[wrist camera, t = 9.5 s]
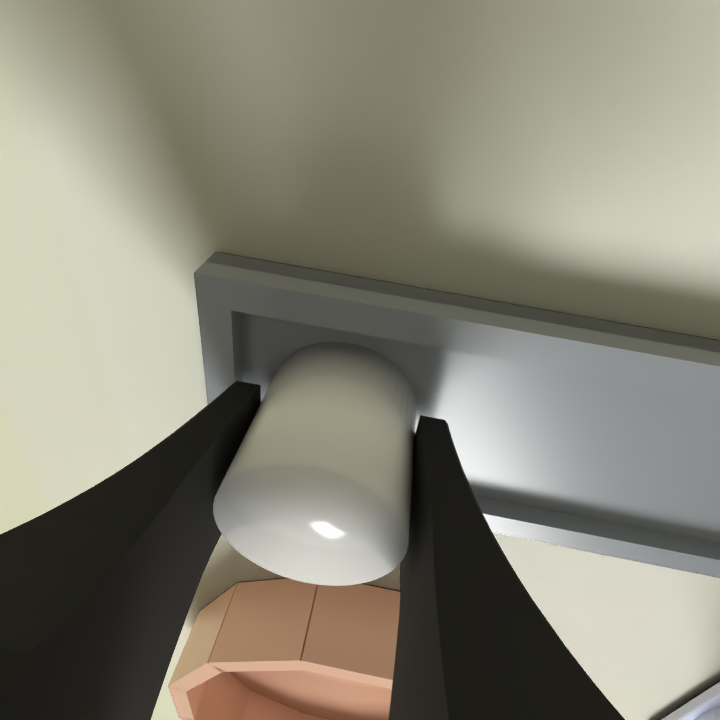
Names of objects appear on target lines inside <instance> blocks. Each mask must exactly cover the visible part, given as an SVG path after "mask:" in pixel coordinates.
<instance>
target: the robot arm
mask: <svg viewBox="0 0 720 720" xmlns="http://www.w3.org/2000/svg"><path fill="white" fill-rule="evenodd" d="M260 404H261V385H258V384H252V383H247V382H242V381H236V382H234V383H233V384H232V385H231V386H229V387H228V388H227V389H226V390H225V391H224V392H222V393H221V394H220V395H219V396H218V397H217V398H215V399H214V400H213V401H212V402H211V403H210V404H208V405H207V406H206V407H205V408H204V409H202V410H201V411H200V412H199V413H198V414H196V415H195V416H194V417H193V418H191V419H190V420H189V421H188V422H186V423H185V424H184V425H183V426H181V427H180V428H179V429H177V430H176V431H175V432H174V433H172V434H171V435H170V436H168V437H167V438H166V439H164V440H163V441H162V442H160V443H159V444H157V445H156V446H155V447H153V448H152V449H150V450H149V451H148V452H146V453H145V454H144V455H142V456H141V457H139V458H138V459H136V460H135V461H133V462H132V463H130V464H129V465H127V466H126V467H124V468H123V469H121V470H120V471H118V472H117V473H115V474H113V475H112V476H110V477H109V478H107V479H105V480H104V481H102V482H100V483H99V484H97V485H95V486H94V487H92V488H90V489H88V490H87V491H85V492H83V493H81V494H80V495H78V496H76V497H74V498H72V499H71V500H69V501H67V502H65V503H63V504H61V505H59V506H58V507H56V508H54V509H52V510H50V511H48V512H46V513H44V514H42V515H40V516H38V517H36V518H34V519H32V520H30V521H28V522H26V523H24V524H22V525H20V526H18V527H16V528H13V529H11V530H9V531H7V532H5V533H3V534H0V720H151V717H152V714H153V710H154V707H155V704H156V701H157V699H158V696H159V693H160V690H161V687H162V684H163V681H164V678H165V675H166V672H167V669H168V667H169V664H170V661H171V658H172V655H173V652H174V649H175V647H176V644H177V641H178V638H179V636H180V633H181V630H182V627H183V625H184V622H185V619H186V616H187V614H188V611H189V608H190V606H191V603H192V600H193V598H194V595H195V593H196V590H197V587H198V585H199V582H200V579H201V577H202V574H203V572H204V570H205V567H206V565H207V563H208V561H209V558H210V556H211V554H212V552H213V550H214V548H215V546H216V544H217V542H218V540H219V538H220V536H221V534H222V533H221V532H220V530H219V528H218V526H217V524H216V521H215V518H214V513H213V503H214V499H215V496H216V494H217V492H218V490H219V488H220V485H221V483H222V481H223V479H224V477H225V475H226V473H227V471H228V469H229V467H230V465H231V463H232V461H233V459H234V457H235V455H236V453H237V451H238V449H239V447H240V445H241V443H242V441H243V439H244V436H245V434H246V432H247V430H248V428H249V426H250V424H251V422H252V420H253V418H254V416H255V414H256V412H257V410H258V408H259V406H260ZM389 720H625V719H624V718H623V717H622V716H621V715H620V713H619V712H618V711H617V710H616V709H615V708H614V706H613V705H612V704H611V703H610V702H609V701H608V699H607V698H606V697H605V696H604V695H603V693H602V692H601V691H600V690H599V688H598V687H597V686H596V685H595V684H594V682H593V681H592V680H591V679H590V677H589V676H588V675H587V673H586V672H585V671H584V670H583V668H582V667H581V666H580V664H579V663H578V662H577V661H576V659H575V658H574V657H573V655H572V654H571V653H570V651H569V650H568V649H567V648H566V646H565V645H564V644H563V642H562V641H561V639H560V638H559V636H558V635H557V634H556V632H555V631H554V629H553V628H552V627H551V625H550V624H549V622H548V621H547V620H546V618H545V617H544V615H543V614H542V612H541V611H540V610H539V608H538V607H537V605H536V604H535V603H534V601H533V600H532V598H531V597H530V595H529V594H528V592H527V590H526V589H525V587H524V586H523V584H522V583H521V581H520V579H519V578H518V576H517V575H516V573H515V571H514V570H513V568H512V566H511V565H510V563H509V561H508V560H507V558H506V556H505V555H504V553H503V551H502V549H501V547H500V546H499V544H498V542H497V540H496V538H495V537H494V535H493V533H492V531H491V529H490V527H489V525H488V523H487V521H486V519H485V517H484V515H483V513H482V511H481V509H480V507H479V505H478V502H477V500H476V498H475V496H474V494H473V491H472V489H471V487H470V484H469V482H468V480H467V477H466V475H465V473H464V470H463V468H462V465H461V462H460V460H459V457H458V454H457V452H456V449H455V446H454V443H453V440H452V436H451V433H450V430H449V426H448V423H447V422H446V421H445V420H443V419H438V418H433V417H427V416H422V415H420V418H419V422H418V425H417V429H416V433H415V443H414V459H413V478H412V494H411V509H410V525H409V541H408V548H407V552H406V554H405V557H404V559H403V560H402V561H401V563H400V609H399V623H398V633H397V643H396V654H395V664H394V673H393V683H392V692H391V702H390V711H389ZM661 720H720V682H719V683H717V684H716V685H714V686H712V687H711V688H709V689H708V690H706V691H705V692H703V693H702V694H700V695H699V696H697V697H695V698H694V699H692V700H691V701H689V702H688V703H686V704H685V705H683V706H682V707H680V708H678V709H677V710H675V711H674V712H672V713H671V714H669V715H668V716H666V717H665V718H663V719H661Z"/></svg>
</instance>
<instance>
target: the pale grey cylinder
mask: <svg viewBox="0 0 720 720" xmlns="http://www.w3.org/2000/svg"><path fill="white" fill-rule="evenodd" d="M416 414H417V401H416V395H415V392H414V389H413V386H412V385H411V383H410V381H409V379H408V378H407V376H406V375H405V374H404V372H403V371H402V370H401V369H400V368H399V367H398V366H397V365H396V364H395V363H394V362H392V361H391V360H390V359H388V358H387V357H385V356H384V355H382V354H380V353H378V352H376V351H374V350H372V349H370V348H367V347H364V346H361V345H357V344H353V343H347V342H321V343H316V344H312V345H309V346H306V347H303V348H301V349H299V350H297V351H295V352H294V353H292V354H291V355H290V356H288V357H287V358H286V359H285V360H284V361H283V362H282V363H281V365H280V366H279V368H278V369H277V371H276V373H275V375H274V377H273V379H272V381H271V383H270V385H269V387H268V390H267V392H266V394H265V396H264V398H263V400H262V402H261V404H260V406H259V408H258V410H257V412H256V414H255V416H254V418H253V420H252V422H251V424H250V426H249V428H248V430H247V432H246V434H245V436H244V439H243V441H242V443H241V445H240V447H239V449H238V451H237V453H236V455H235V457H234V459H233V461H232V463H231V465H230V467H229V469H228V471H227V473H226V475H225V477H224V479H223V481H222V483H221V485H220V488H219V490H218V492H217V494H216V496H215V499H214V503H213V513H214V518H215V521H216V524H217V526H218V528H219V530H220V532H221V533H222V535H223V536H224V538H225V539H226V540H227V541H228V543H229V544H230V545H231V546H232V547H233V548H234V549H235V550H237V551H238V552H239V553H240V554H242V555H243V556H244V557H246V558H247V559H249V560H250V561H252V562H253V563H255V564H257V565H258V566H260V567H262V568H264V569H266V570H268V571H270V572H273V573H275V574H278V575H280V576H283V577H286V578H290V579H293V580H297V581H301V582H305V583H311V584H318V585H329V586H344V585H355V584H361V583H366V582H370V581H373V580H376V579H378V578H380V577H383V576H385V575H387V574H388V573H390V572H391V571H393V570H394V569H395V568H396V567H397V566H398V565H399V564H400V563H401V561H402V560H403V559H404V557H405V554H406V552H407V548H408V541H409V525H410V509H411V494H412V478H413V459H414V443H415V430H416Z"/></svg>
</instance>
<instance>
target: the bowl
mask: <svg viewBox="0 0 720 720" xmlns="http://www.w3.org/2000/svg"><path fill="white" fill-rule="evenodd" d="M399 609H400V592H398V591H394V590H389V589H384V588H379V587H374V586H369V585H364V584H355V585H344V586H329V585H318V584H311V583H305V582H301V581H297V580H293V579H290V578H285V579H274V580H264V581H254V582H243V583H238V584H235V585H234V586H233V587H231V588H230V589H229V590H227V591H226V592H225V593H223V594H222V595H221V596H219V597H218V598H217V599H215V600H214V601H213V602H211V603H210V604H209V605H207V606H206V607H205V608H203V609H202V610H201V611H199V614H198V616H197V618H196V621H195V623H194V626H193V628H192V630H191V633H190V635H189V637H188V640H187V642H186V645H185V647H184V649H183V652H182V654H181V657H180V659H179V661H178V664H177V666H176V668H175V671H174V673H173V676H172V678H171V680H170V683H169V685H168V688H169V691H170V693H171V696H172V699H173V702H174V705H175V708H176V711H177V714H178V717H179V718H180V719H181V720H389V711H390V702H391V692H392V683H393V673H394V664H395V654H396V643H397V633H398V623H399Z"/></svg>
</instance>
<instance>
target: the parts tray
mask: <svg viewBox="0 0 720 720" xmlns="http://www.w3.org/2000/svg"><path fill="white" fill-rule="evenodd" d="M194 278H195V287H196V297H197V306H198V316H199V325H200V335H201V344H202V354H203V364H204V373H205V383H206V392H207V402H208V404H210V403H211V402H212V401H213V400H214V399H215V398H217V397H218V396H219V395H220V394H221V393H222V392H224V391H225V390H226V389H227V388H228V387H229V386H231V385H232V384H233V383H234V382H236V381H242V382H247V383H252V384H258V385H261V402H262V400H263V398H264V396H265V394H266V392H267V390H268V387H269V385H270V383H271V381H272V379H273V377H274V375H275V373H276V371H277V369H278V368H279V366H280V365H281V363H282V362H283V361H284V360H285V359H286V358H287V357H288V356H290V355H291V354H292V353H294V352H295V351H297V350H299V349H301V348H303V347H306V346H309V345H312V344H316V343H321V342H347V343H353V344H357V345H361V346H364V347H367V348H370V349H372V350H374V351H376V352H378V353H380V354H382V355H384V356H385V357H387V358H388V359H390V360H391V361H392V362H394V363H395V364H396V365H397V366H398V367H399V368H400V369H401V370H402V371H403V372H404V374H405V375H406V376H407V378H408V379H409V381H410V383H411V385H412V386H413V389H414V392H415V395H416V401H417V414H416V429H417V425H418V422H419V418H420V415H422V416H427V417H433V418H438V419H443V420H445V421H446V422H447V423H448V426H449V430H450V433H451V436H452V440H453V443H454V446H455V449H456V452H457V454H458V457H459V460H460V462H461V465H462V468H463V470H464V473H465V475H466V477H467V480H468V482H469V484H470V487H471V489H472V491H473V494H474V496H475V498H476V500H477V502H478V505H479V507H480V509H481V511H482V513H483V515H484V517H485V519H486V521H487V523H488V525H489V527H490V529H491V531H492V533H496V534H501V535H506V536H511V537H516V538H521V539H526V540H531V541H536V542H541V543H546V544H551V545H556V546H562V547H567V548H572V549H577V550H582V551H587V552H592V553H597V554H602V555H607V556H612V557H617V558H622V559H627V560H632V561H637V562H642V563H647V564H652V565H657V566H662V567H667V568H672V569H677V570H682V571H687V572H692V573H697V574H702V575H707V576H712V577H717V578H720V341H719V340H713V339H708V338H702V337H696V336H690V335H685V334H679V333H673V332H668V331H662V330H656V329H651V328H645V327H639V326H634V325H628V324H622V323H617V322H611V321H605V320H599V319H594V318H588V317H582V316H577V315H571V314H565V313H560V312H554V311H548V310H543V309H537V308H531V307H526V306H520V305H514V304H508V303H503V302H497V301H491V300H486V299H480V298H474V297H469V296H463V295H457V294H452V293H446V292H440V291H435V290H429V289H423V288H417V287H412V286H406V285H400V284H395V283H389V282H383V281H378V280H372V279H366V278H361V277H355V276H349V275H344V274H338V273H332V272H326V271H321V270H315V269H309V268H304V267H298V266H292V265H287V264H281V263H275V262H270V261H264V260H258V259H253V258H247V257H241V256H235V255H230V254H224V253H218V252H215V253H214V254H213V255H212V256H211V257H210V258H209V259H208V260H207V261H206V262H205V263H204V264H203V265H202V266H201V267H200V268H198V269H197V270H196V271H195V272H194ZM415 433H416V430H415Z"/></svg>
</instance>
